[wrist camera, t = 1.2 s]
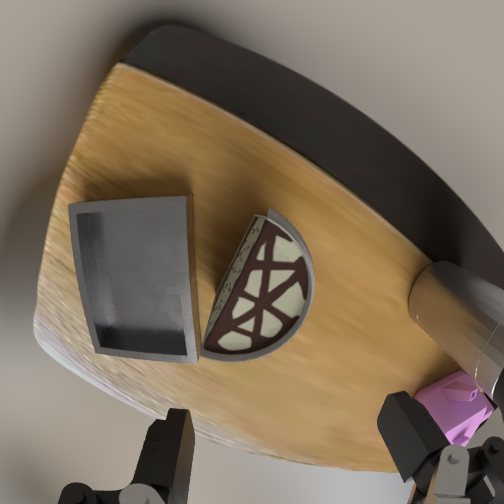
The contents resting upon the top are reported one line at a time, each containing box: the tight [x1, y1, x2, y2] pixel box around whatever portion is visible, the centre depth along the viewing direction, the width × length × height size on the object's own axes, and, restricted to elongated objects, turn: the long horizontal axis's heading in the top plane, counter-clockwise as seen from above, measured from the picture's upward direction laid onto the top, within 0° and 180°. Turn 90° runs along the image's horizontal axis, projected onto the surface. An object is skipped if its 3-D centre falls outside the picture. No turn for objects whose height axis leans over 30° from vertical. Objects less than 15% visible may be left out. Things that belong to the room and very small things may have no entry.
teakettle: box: [413, 371, 494, 447], centre depth 30 cm, size 17×17×12 cm
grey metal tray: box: [68, 194, 202, 364], centre depth 26 cm, size 12×17×4 cm
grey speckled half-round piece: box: [199, 208, 315, 363], centre depth 23 cm, size 12×6×10 cm, turn 154°
